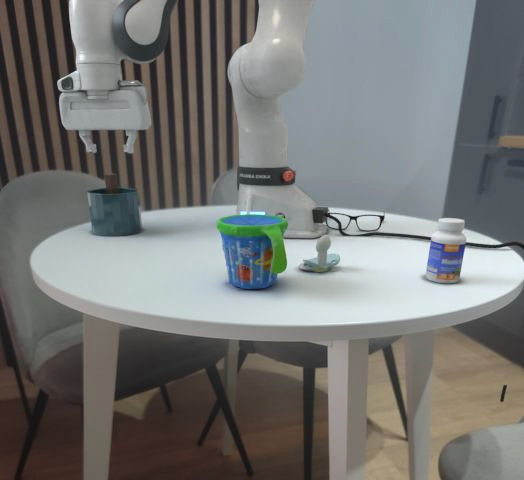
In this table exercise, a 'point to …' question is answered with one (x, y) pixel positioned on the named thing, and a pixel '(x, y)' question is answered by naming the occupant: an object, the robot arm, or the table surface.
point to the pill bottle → (446, 251)
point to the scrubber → (111, 183)
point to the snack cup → (253, 249)
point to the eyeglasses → (356, 221)
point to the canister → (115, 212)
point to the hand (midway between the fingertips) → (110, 153)
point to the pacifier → (321, 257)
